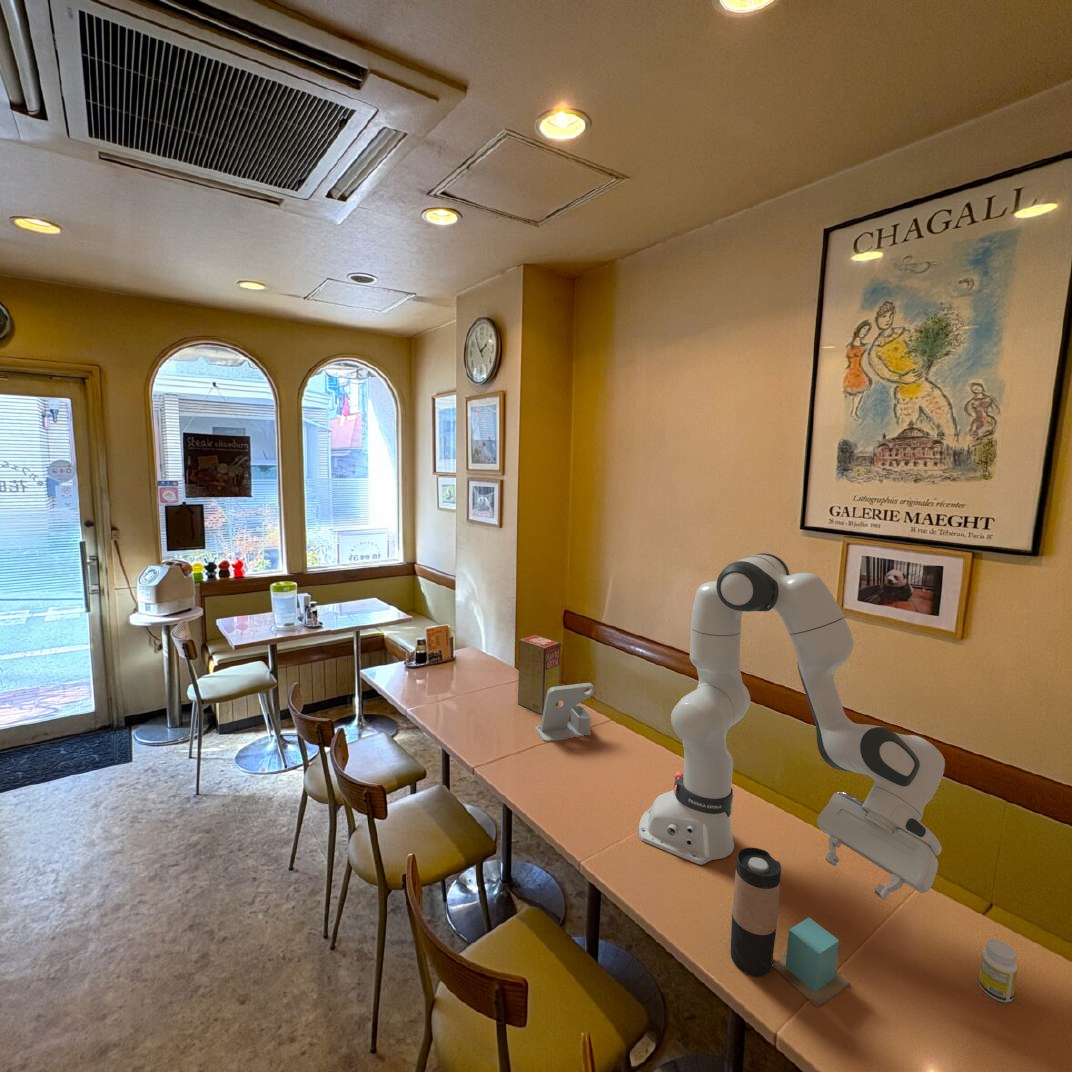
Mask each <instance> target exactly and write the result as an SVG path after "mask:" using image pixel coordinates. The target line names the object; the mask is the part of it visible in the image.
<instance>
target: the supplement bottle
mask: <svg viewBox="0 0 1072 1072" xmlns="http://www.w3.org/2000/svg"><path fill="white" fill-rule="evenodd" d="M981 954H982V955H981V962H980V971H979V978H978V983H979V987H980V988H981V990H983V991H984V993H985V994H986V995H987V996H989V997H990V998H992V999H994V1000H995V1001H998V1002H1001V1003H1010V1002H1012V1001H1013V1000H1014V996H1015V988H1016V981H1017V974H1018V965H1017V963H1016V961H1017V960H1016V959H1017V958H1016V957H1017V953H1016V951H1015V950H1014V948H1013V947H1012V946H1010V945H1009V944H1007V943H1006V942H1004V941H1002V940H1000V939H996V938H990V939H988V940H987V941H986V945H985V949H984V950H983V951H982V953H981Z"/></svg>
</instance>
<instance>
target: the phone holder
mask: <svg viewBox="0 0 1072 1072" xmlns="http://www.w3.org/2000/svg"><path fill="white" fill-rule="evenodd" d="M587 689H589V690H587ZM585 690H587V691H585ZM594 692H595V687H594V685H593V683H591V682H584V683H583V682H582V683H575V684H566V685H559V686H557V687H552V688H550V689H549V690H548V691H547V695H546V700H545V705H544V711H543V715H541V717H542V718H541V722H540V725H537V726H535V731H536V733H537V734H538V735H539V737H540V738H541V740H542V741H544V742H547V743H549V742H550V743H551V742H555V741H562V740H568V738H570V739H574V738H573V737H576V738H579V737H578V736H583V737H585V736H584V735H589V736H591V735H592V731H591V722H592V720H591V719H592V717H591V714H590V712H588V711H587V710H586V709H585V708H584V707H583V706H581V705H579V704H580V703H582V702H584V701H585V700H587V699H589V698H590V697H591V696H593V695H594ZM558 701H559V702H563V703H562V704H561V706H558V707H556V705H555V704H556V703H557V702H558Z"/></svg>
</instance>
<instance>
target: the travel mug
mask: <svg viewBox="0 0 1072 1072" xmlns="http://www.w3.org/2000/svg"><path fill="white" fill-rule="evenodd" d="M735 862H736V865H735V873H734V874H735V876H734V886H733V898H732V906H731V907H732V908H731V909H732V910H731V926H730V927H731V928H730V929H731V930H730V931H731V932H730V957H731V961H732V963H733V964H734V966H736V968H738V970H740V971H741V972H743V973H744V974H746V975H748V976H752V977H755V978H757V977H758V978H759V977H760V978H762V977H766V976H767V975H768V974H769V973H770V972H771V969H772V964H773V958H774V957H773V956H774V951H775V950H774V949H775V943H776V935H777V927H778V926H777V925H778V917H779V916H778V915H779V912H778V911H779V902H780V888H781V878H782V877H781V876H782V865H781V863H780V861H779V860H775V859H774V858H773V857H772V855H771V854H770V853H769V852H768V851H766V850H765V849H761V848H758V847H745V848H742V849H740V850H739V851H738V852H737V855H736V861H735Z"/></svg>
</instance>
